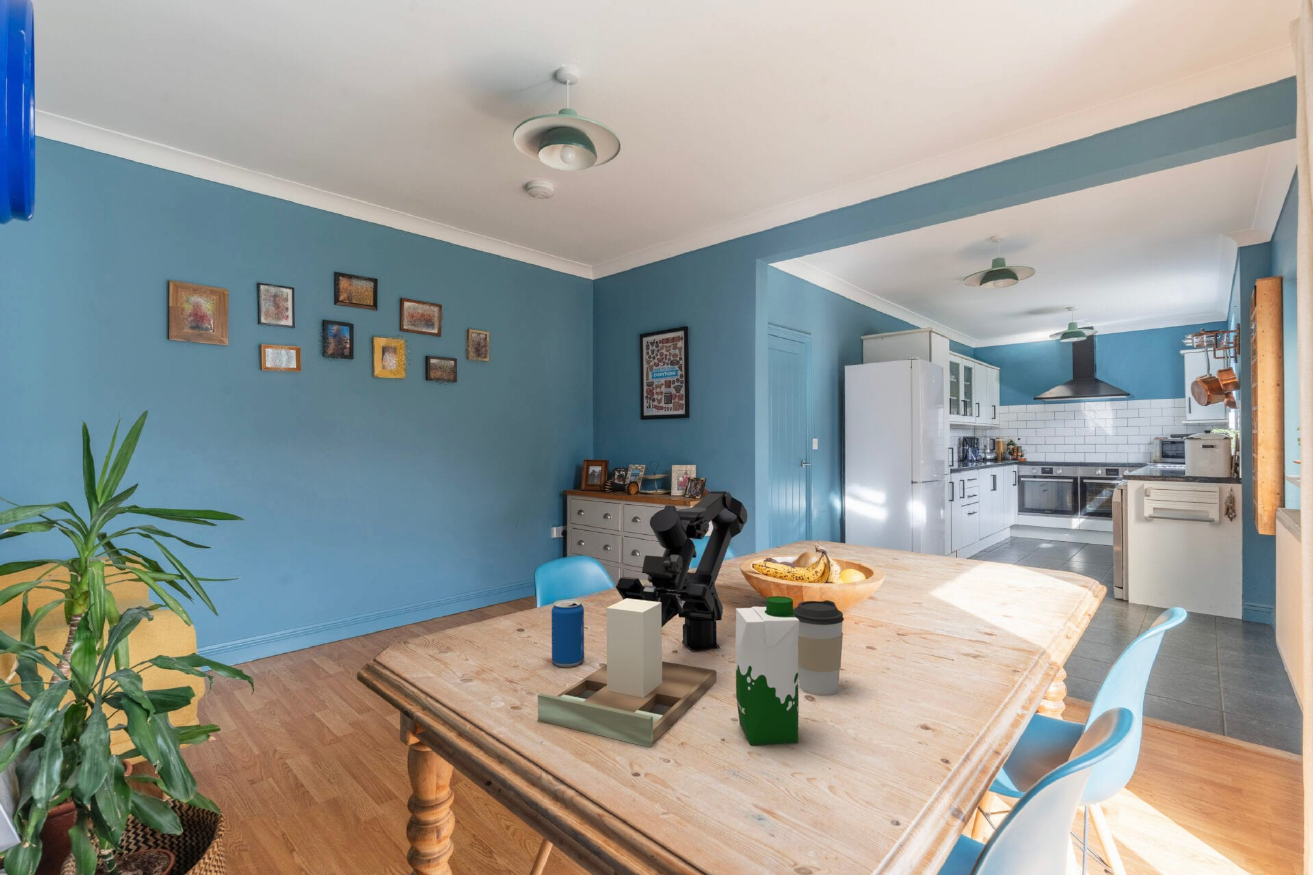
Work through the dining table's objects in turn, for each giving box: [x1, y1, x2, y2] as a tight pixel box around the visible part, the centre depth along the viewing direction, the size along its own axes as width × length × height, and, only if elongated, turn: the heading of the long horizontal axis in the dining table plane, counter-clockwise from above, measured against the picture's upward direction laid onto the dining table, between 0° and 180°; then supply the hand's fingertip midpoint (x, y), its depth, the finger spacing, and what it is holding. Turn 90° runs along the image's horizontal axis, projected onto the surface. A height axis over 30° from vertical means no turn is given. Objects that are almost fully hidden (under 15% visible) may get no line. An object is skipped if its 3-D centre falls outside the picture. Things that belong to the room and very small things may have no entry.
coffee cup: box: [793, 599, 845, 696], centre depth 107 cm, size 9×9×15 cm
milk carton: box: [735, 595, 800, 746], centre depth 90 cm, size 9×9×20 cm
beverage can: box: [551, 598, 585, 668], centre depth 121 cm, size 6×6×12 cm
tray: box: [537, 660, 717, 748], centre depth 103 cm, size 27×20×4 cm
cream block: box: [606, 598, 663, 698], centre depth 103 cm, size 7×7×14 cm
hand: (650, 634), depth 109 cm, fingers closed
